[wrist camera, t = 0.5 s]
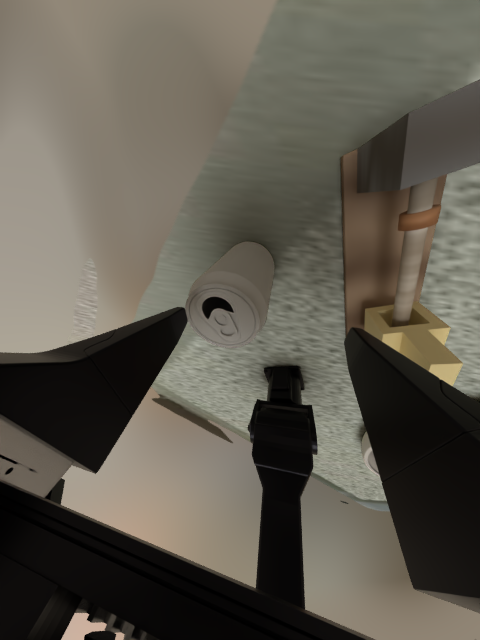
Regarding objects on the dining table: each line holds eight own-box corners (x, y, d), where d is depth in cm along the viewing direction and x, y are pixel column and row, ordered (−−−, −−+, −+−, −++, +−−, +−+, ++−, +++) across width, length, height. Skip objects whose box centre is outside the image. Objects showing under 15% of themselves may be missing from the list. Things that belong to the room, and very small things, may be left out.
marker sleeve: (410, 331, 19) (472, 398, 13) (364, 336, 21) (398, 397, 14) (417, 301, 17) (494, 362, 11) (365, 308, 19) (405, 365, 12)
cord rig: (406, 340, 23) (452, 395, 16) (346, 345, 25) (365, 394, 19) (453, 106, 12) (644, 1, 6) (340, 157, 14) (382, 125, 8)
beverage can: (265, 230, 19) (243, 263, 9) (281, 282, 22) (277, 346, 12) (217, 252, 21) (162, 294, 12) (237, 295, 24) (206, 356, 15)
